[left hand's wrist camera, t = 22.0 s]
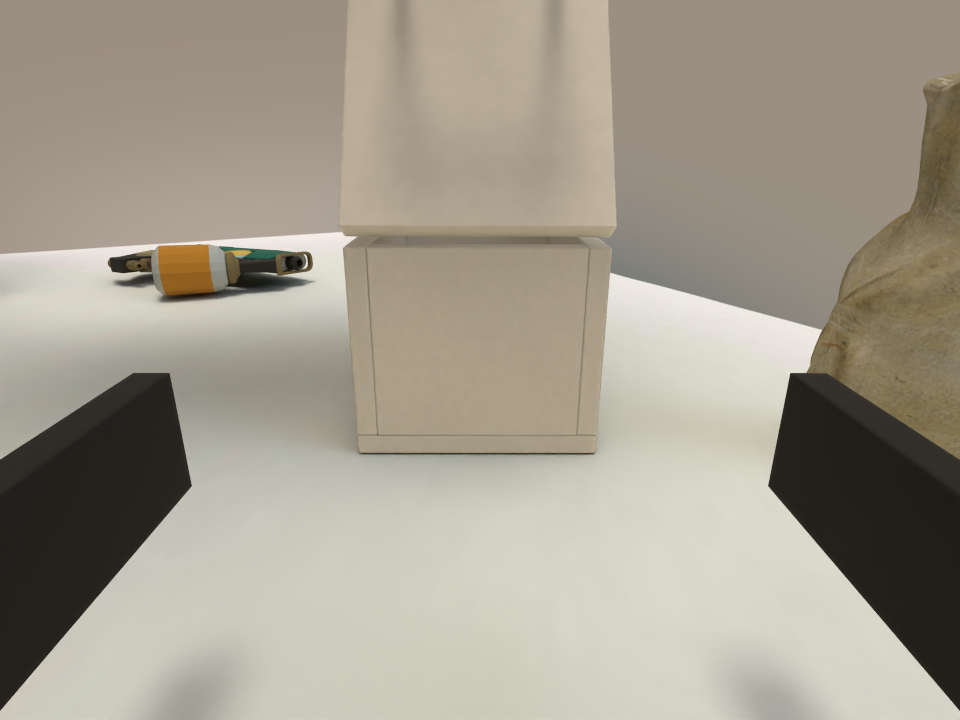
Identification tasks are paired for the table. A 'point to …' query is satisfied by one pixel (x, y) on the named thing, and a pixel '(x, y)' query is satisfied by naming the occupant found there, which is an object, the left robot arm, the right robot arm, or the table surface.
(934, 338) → the sculpture
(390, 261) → the chest
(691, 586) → the table surface
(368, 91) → the lid
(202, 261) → the spray gun
